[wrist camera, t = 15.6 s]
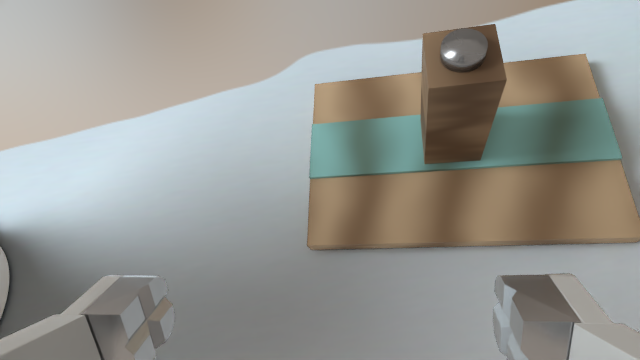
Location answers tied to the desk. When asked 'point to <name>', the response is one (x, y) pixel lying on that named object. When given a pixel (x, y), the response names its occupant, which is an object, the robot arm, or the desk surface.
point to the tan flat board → (469, 167)
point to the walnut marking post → (459, 92)
